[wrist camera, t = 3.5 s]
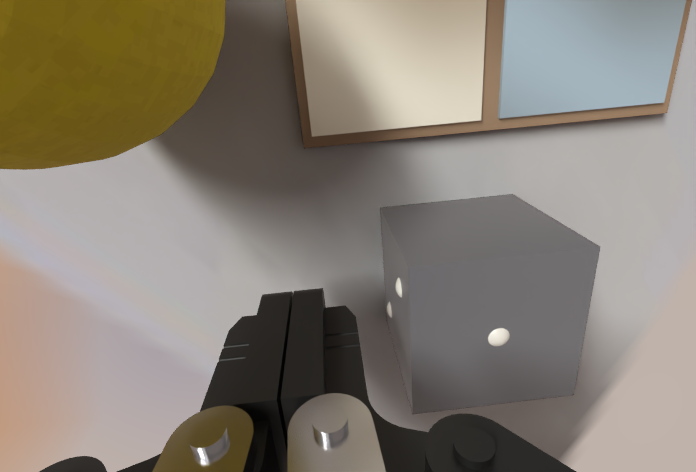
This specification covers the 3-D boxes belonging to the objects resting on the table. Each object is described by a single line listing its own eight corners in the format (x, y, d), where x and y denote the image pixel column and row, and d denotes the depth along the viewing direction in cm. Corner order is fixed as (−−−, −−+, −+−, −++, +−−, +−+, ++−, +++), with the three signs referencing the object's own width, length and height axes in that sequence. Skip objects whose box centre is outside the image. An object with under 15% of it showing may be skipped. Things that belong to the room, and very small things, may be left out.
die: (376, 207, 12) (404, 270, 8) (514, 193, 12) (608, 248, 8) (383, 322, 13) (409, 420, 9) (505, 308, 13) (579, 400, 9)
